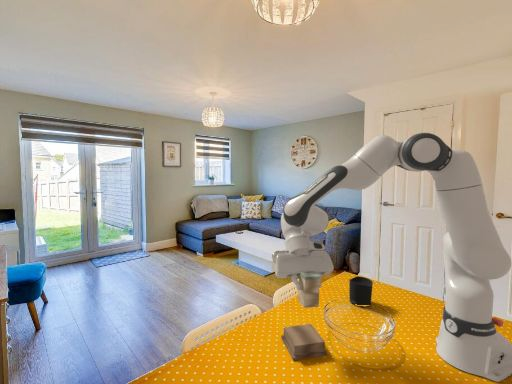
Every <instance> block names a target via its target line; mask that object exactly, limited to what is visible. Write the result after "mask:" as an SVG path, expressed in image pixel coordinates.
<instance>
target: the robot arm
mask: <svg viewBox="0 0 512 384" xmlns="http://www.w3.org/2000/svg"><path fill="white" fill-rule="evenodd" d="M395 166H396V167H399V168H401V169H403V170H405V171H409V172H424V171H427V172H428V173H429V174H430V175H431V176H432V178H433V181H434V185H435V190H436V191H435V192H436V196H437V202H438V206H439V210H440V215H441V217H442V220H443V222H444V224H445V226H446V230H447V231H446V232H445V233H444V234H443V236H442V240H441V244H442V250H443V262H444V263H443V265H444V272H445V273H444V274H445V282H446V283H445V284H446V285H445V305H444V307H443V308H442V309H443V310H442V319H441V321H440V327H439V333H438V336H436V337H435V342H436V348H435V350H436V353H437V354H438V356H439V357H440V358H441V359H442V360H444V361H445V362H446V363H447V364H449V365H451V366H452V367H454V368H456V369H459V370H461V371H463V372H466V373H468V374H472V375H474V376H480V377H483V378H485V379H487V380H490V381H492V382H493V381H494V382H497V383H500V382H502V381H503V380H505V379H507V378H509V377H510V376H512V375H511V374H512V343H511V341H510V340H509V339H508V338H506V337H505V336H503V335H502V334H501V333H500V332H499V331H497V329H496V326H497V327H499V328H501V327H503V326H504V321H503V320H502V319H499V318H497V317H495V316H494V317H493V308H494V297H495V296H494V290H493V288H492V285H491V281H490V280H492V281H493V280H498V279H500V278H503V277H504V276H506V275H507V274H508V273H509V271H510V270H511V269H512V268H511V267H512V259H511V256H510V254H509V253H508V251H507V250H506V248H505V247H504V245H503V243H502V240H501V238H500V235H499V233H498V230H497V228H496V226H495V224H494V221H493V220H492V217H491V214H490V212H489V210H488V209H489V208H488V204H487V200H486V194H485V190H484V186H483V182H482V177H481V174H480V171H479V168H478V165H477V163H476V161H475V160H474V157H473V156H472V154H471V153H470V152H468V151H467V150H462V149H452V148H451V147H450V146H448V145H447V144H446V143H445V141H443V140H442V138H441V137H439V136H438V135H436V134H434V133H431V132H420V133H416V134H413V135H411V136H410V137H408V138H406V139H405V140H403V141H397V140H395V139H394V138H393V137H392V136H391V137H390V136H388V135H386V134H380V135H377V136H375V137H373V138H372V139H371V140H369V141H368V142H367V143H365V144H364V145H363V146H362V147H361V148H360V149H359V150H358V151H356V152H355V154H353V155H352V157H350V158H349V159H348V160H347V161H345V162H343V163H342V164H340V165H335V166H333V167H332V168H330V169H329V170H327V171H326V172H324V173H323V174H322V175H321V176H319V177H318V178H317V179H316V180H315V181H314V182H312V183H311V184H310V185H309V186H307V187H306V188H305V189H303V191H301V192H299V193H298V194H296V195H294V196H293V197H291V198H289V199H288V200H287V201H286V203H285V204H284V207H283V212H282V214H281V216H280V227H281V232H282V235H283V238H284V239H285V242H284V245H285V249H284V250H276V251H274V252H273V253H272V254H271V258H272V262H273V263H274V274H275V276H276V277H277V279H284V278H285V279H286V278H287V279H288V278H291V279H290V280H291V282H292V283H293V284H294V285H295V286H296V289H297V291H299V290H302V289H303V286H302V283H299V279H298V278H299V274H300V272H310V271H315V272H316V273H317V274H319V275H320V286H319V289H320V288H322V283H321V280H322V278H323V277H322V276H326V275H327V276H328V275H331V273H333V271H334V269H335V266H334V263H333V261H332V259H331V256H330V255H329V253H328V251H325V250H326V245H325V244H323V243H320V242H316V241H313V240H310V238H311V237H315V236H317V235H319V234H322V233H324V231H325V230H326V229H328V226H329V222H330V218H329V215H328V212H326V211H325V210H323V209H322V208H320V207H318V206H316V204H318V203H319V202H320V201H321V200H322V199H324V198H325V197H326V196H328V195H329V194H330V193H332V192H333V191H335V190H339V189H347V190H354V191H358V190H359V191H361V190H366V189H367V188H369V187H371V186H372V185H373V184H375V183H376V182H377V181H378V180H379V179H380V178H381V177H382V176H383V175H384V174H385V173H386V172H387V171H389V170H390V169H391V168H392V167H395ZM508 376H509V377H508Z"/></svg>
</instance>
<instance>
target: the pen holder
mask: <svg viewBox="0 0 512 384" xmlns="http://www.w3.org/2000/svg"><path fill="white" fill-rule="evenodd" d="M348 280H349V286H348V287H349V289H348V292H349V302H350V303H351V304H352V305H353V304H357V305H370V306H371V304H372V298H373V297H372V296H373V295H372V294H373V284H374V282H373V280H371V279H370V278H368V277H364V276H360V275H359V276H354V277H352V278H349V279H348Z"/></svg>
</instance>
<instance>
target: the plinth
mask: <svg viewBox="0 0 512 384" xmlns="http://www.w3.org/2000/svg"><path fill="white" fill-rule="evenodd" d="M280 337H281V340H282V341H283V344H284V346H285V348H286V349H287V352H288V353H289V356H290V358H291V359H292V361H297V360H303V359H311V358H317V357H324V356H327V355H328V351H327V350H326V349H325V348H326V347H325V346H326V345H325V344H326V341H325V340H324V338H323V337H322V336H321V335H320V333H319V331H317V330H316V328H315V327H314V326H313V324H312V323H308V324H299V325H298V324H297V325H290V326H283V335H281V336H280Z"/></svg>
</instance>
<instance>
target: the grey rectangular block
mask: <svg viewBox="0 0 512 384" xmlns="http://www.w3.org/2000/svg"><path fill="white" fill-rule="evenodd" d="M298 281H299V283H302V286H303V289H302V290H298V293H297V294H298V295H297V296H298V297H297V299H298V302H299V304H300V305H302V307H303V308H304V309H307V308H309V309H310V308H316V307H317V308H318V307H319V304H320V301H319V300H320V288H319V286H320V282H321V281H320V275H319V274H317V273H316V272H315V271H310V272H300V274H299V277H298Z"/></svg>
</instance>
